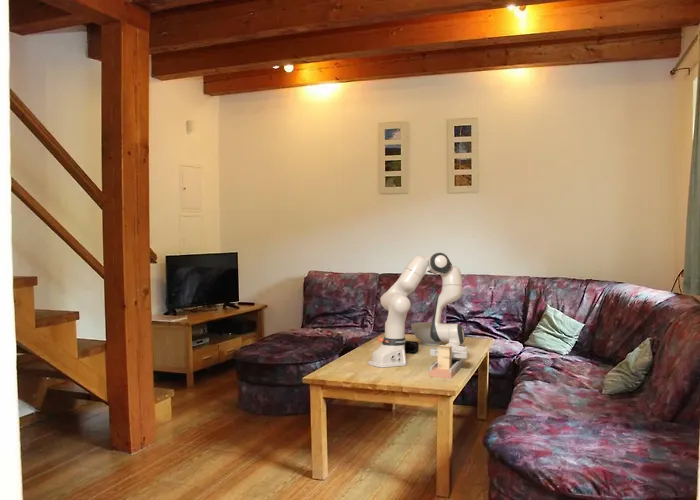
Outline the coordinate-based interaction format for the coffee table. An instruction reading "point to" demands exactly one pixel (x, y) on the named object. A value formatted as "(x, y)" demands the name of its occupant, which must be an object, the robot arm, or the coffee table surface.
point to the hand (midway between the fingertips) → (445, 355)
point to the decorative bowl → (424, 333)
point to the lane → (446, 372)
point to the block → (444, 357)
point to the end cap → (411, 347)
